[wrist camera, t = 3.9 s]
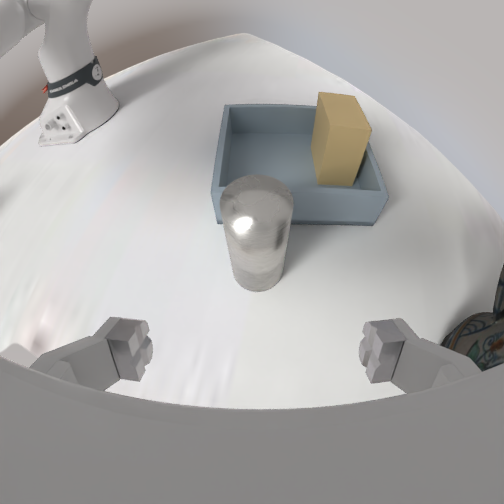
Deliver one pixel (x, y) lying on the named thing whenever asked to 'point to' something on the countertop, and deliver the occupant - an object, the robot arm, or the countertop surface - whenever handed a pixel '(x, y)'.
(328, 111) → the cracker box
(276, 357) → the countertop surface
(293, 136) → the tote
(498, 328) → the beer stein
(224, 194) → the tin
